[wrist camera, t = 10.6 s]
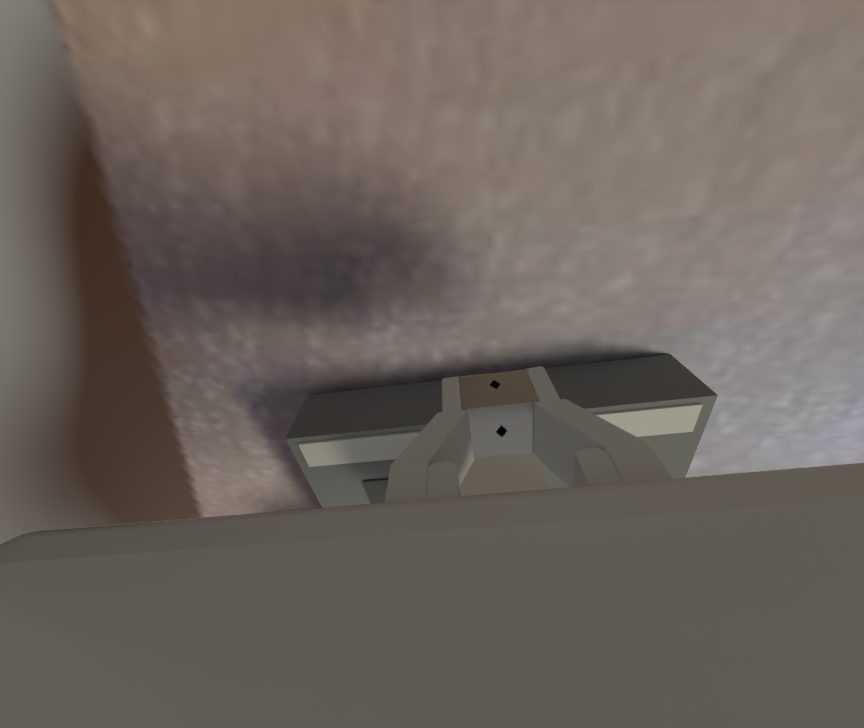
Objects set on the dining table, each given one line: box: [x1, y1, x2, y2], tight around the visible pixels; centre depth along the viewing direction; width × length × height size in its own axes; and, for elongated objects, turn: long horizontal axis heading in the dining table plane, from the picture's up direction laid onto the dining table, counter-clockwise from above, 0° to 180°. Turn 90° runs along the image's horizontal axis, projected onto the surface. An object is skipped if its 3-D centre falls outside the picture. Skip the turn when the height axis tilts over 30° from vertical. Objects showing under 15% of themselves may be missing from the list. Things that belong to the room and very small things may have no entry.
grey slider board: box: [285, 354, 718, 508], centre depth 18 cm, size 16×17×3 cm
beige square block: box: [460, 452, 548, 496], centre depth 12 cm, size 3×3×4 cm
